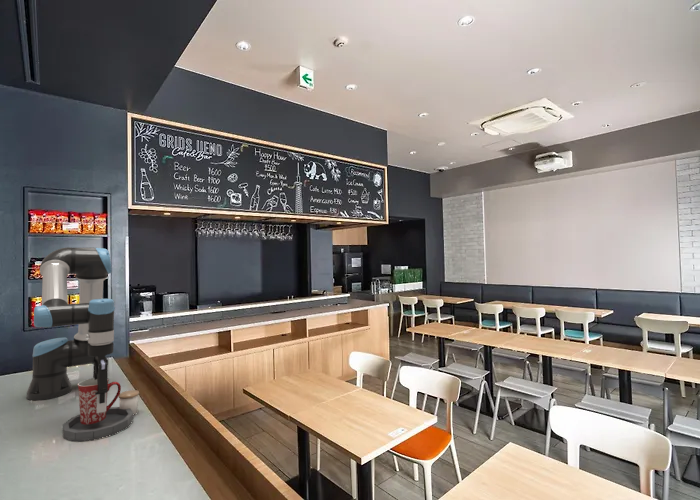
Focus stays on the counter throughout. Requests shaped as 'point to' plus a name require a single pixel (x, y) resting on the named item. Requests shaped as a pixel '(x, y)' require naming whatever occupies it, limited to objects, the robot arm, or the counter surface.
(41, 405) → the counter surface
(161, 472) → the counter surface
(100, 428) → the tray
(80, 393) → the mug
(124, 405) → the pot
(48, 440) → the counter surface
